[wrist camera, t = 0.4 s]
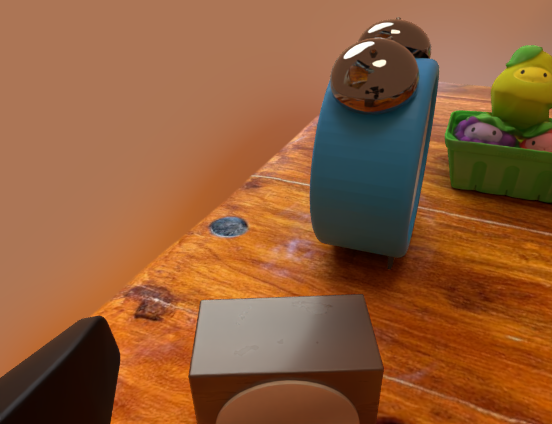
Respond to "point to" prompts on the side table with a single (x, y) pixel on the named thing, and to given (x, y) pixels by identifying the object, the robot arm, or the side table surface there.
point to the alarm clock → (374, 140)
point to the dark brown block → (285, 361)
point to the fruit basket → (508, 133)
